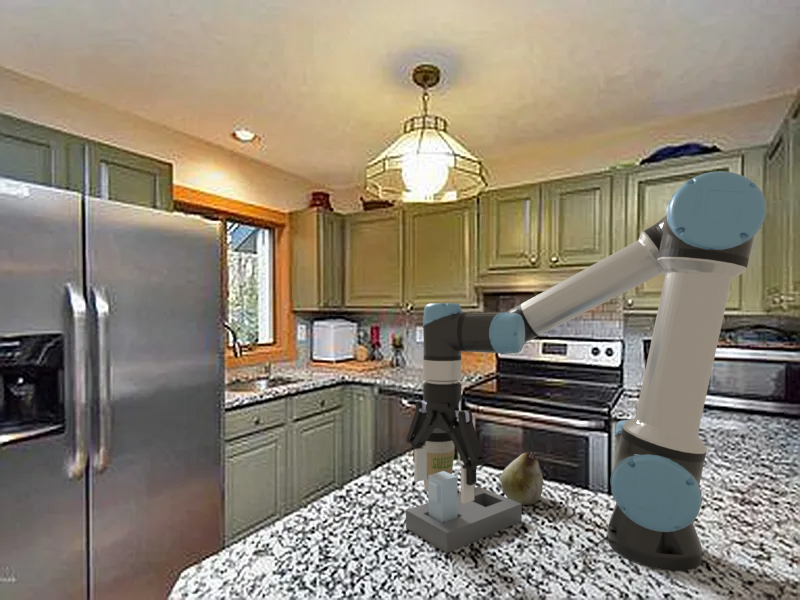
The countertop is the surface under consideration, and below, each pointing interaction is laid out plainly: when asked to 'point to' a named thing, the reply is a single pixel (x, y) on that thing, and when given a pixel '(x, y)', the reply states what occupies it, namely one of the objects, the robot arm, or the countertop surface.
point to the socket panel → (465, 520)
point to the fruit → (523, 479)
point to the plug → (443, 496)
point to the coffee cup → (439, 453)
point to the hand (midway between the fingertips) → (442, 490)
